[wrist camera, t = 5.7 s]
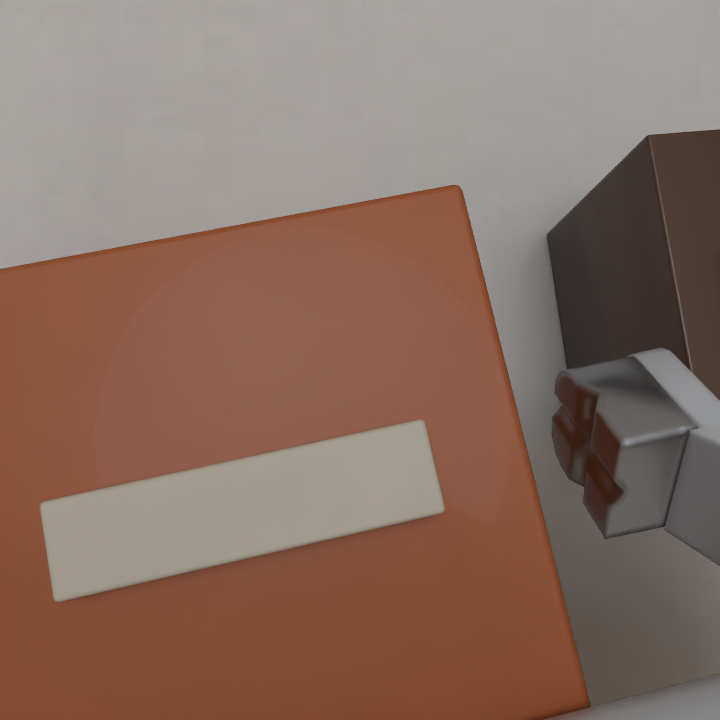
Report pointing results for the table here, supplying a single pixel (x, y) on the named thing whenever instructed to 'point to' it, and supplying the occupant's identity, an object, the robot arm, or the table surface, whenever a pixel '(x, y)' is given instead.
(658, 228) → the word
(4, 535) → the i letter block
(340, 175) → the table surface
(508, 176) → the table surface
